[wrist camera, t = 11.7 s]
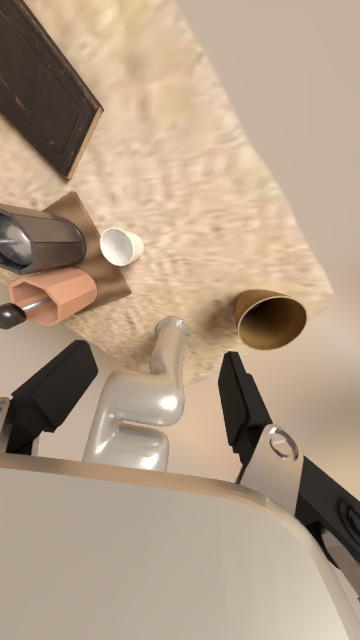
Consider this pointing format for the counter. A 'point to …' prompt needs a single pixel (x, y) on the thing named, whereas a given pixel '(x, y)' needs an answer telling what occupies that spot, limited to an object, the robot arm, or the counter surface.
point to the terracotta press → (54, 294)
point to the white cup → (120, 246)
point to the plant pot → (269, 319)
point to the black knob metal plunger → (17, 313)
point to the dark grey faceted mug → (45, 240)
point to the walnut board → (91, 252)
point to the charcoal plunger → (14, 242)
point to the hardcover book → (43, 90)
